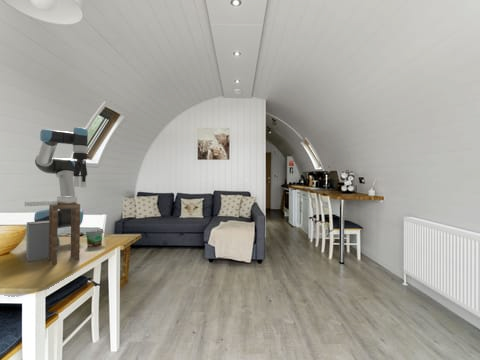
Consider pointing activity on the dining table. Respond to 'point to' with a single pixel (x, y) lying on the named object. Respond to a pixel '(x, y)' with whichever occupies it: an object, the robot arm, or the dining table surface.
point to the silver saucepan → (60, 201)
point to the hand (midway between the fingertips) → (79, 187)
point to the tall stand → (54, 228)
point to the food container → (94, 238)
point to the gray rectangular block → (37, 240)
